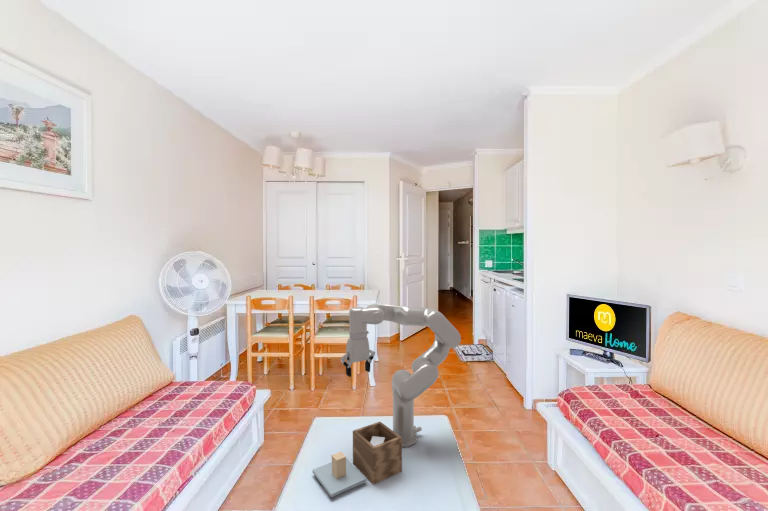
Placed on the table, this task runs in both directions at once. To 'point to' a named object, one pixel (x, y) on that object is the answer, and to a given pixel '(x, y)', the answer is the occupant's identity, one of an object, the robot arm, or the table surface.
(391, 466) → the crate
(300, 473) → the table surface
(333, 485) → the lid
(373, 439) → the small box
